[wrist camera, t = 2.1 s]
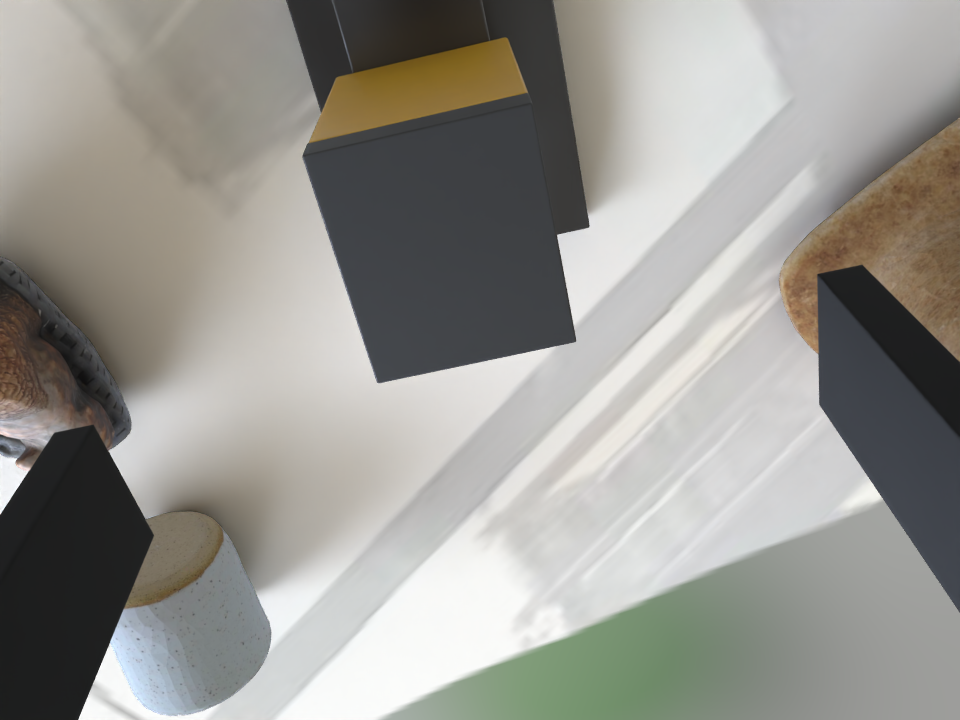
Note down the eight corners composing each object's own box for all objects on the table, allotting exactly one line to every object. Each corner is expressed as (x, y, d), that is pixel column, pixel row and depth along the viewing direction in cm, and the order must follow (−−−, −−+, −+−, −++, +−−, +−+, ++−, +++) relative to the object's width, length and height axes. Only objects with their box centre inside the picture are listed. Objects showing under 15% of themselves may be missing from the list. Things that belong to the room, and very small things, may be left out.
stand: (373, 264, 40) (358, 364, 33) (272, -63, 33) (222, -34, 25) (585, 218, 40) (622, 308, 32) (529, -127, 32) (559, -118, 25)
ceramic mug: (235, 488, 46) (199, 595, 40) (284, 596, 51) (258, 709, 44) (48, 523, 47) (-17, 634, 41) (112, 626, 51) (61, 741, 45)
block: (390, 262, 30) (377, 384, 24) (335, 76, 27) (301, 155, 20) (544, 228, 30) (576, 342, 23) (507, 36, 27) (532, 102, 20)
